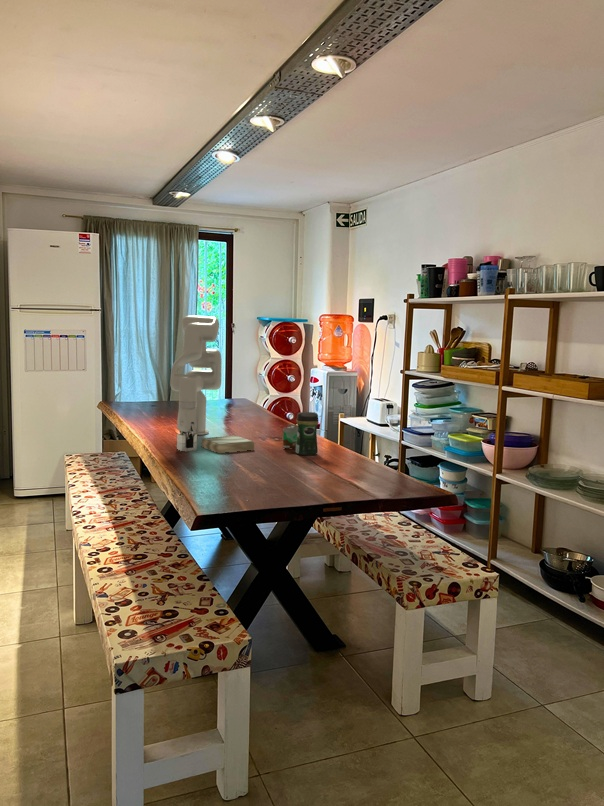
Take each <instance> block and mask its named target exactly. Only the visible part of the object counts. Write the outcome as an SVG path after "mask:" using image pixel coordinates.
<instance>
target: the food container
mask: <svg viewBox="0 0 604 806" xmlns="http://www.w3.org/2000/svg"><path fill="white" fill-rule="evenodd" d="M282 432H283V433H282V437H283V439H282V444H283V445H282V449H283V448H286V449H285V450H290V449H289V448H295V449H296V441H297V433H298V425H297V424H294V423H293V424H292V423H291V424H290V423H288V426H286V427H283V429H282ZM287 448H288V449H287Z"/></svg>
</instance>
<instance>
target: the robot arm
mask: <svg viewBox="0 0 604 806" xmlns="http://www.w3.org/2000/svg"><path fill="white" fill-rule="evenodd" d="M181 325H182V329H183V330H184V337H183V346H182V347H183V349H182V353H181V354H180V355H179V356H178V357H177V358H176V359H175V361H174V362H173V364H172V367H171V371H170V379H169V380H170V381H169V385H170V388H171V390H172V391H174V392H178V413H177V421H176V422H177V423H176V425H177V426H176V428H177V430H178V431H179V434H182V433H187V439H186V448H193V445H194V436H195V434H196V435H197V436H201V435H202V436H204V435H208V434H209V430H208V429H207V426H206V424H207V421H206V420H207V397H206V395H205V394H204V393H203V391H202V390H208V391H209V390H211V391H215V390H216V391H217V390H219V389H221V386H222V354H221V352H220V350H218V349H217V348H207V343H213V342H216V340H217V338H218V334H219V329H220V322H219V319H218V318H217V317H215V316H210V315H209V316H208V315H185V316H184V317H182V318H181ZM187 364H189V366H190V367H191V368H195V369H193V370H192V369H191V370H189V371H187V372H186V374H179V373H178V372H179V371H180V369H181V368H182V367H183V366H185V365H187ZM204 369H205V370H204ZM206 369H211V370H206ZM189 433H191V434H190V435H189Z"/></svg>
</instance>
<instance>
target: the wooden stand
mask: <svg viewBox="0 0 604 806" xmlns="http://www.w3.org/2000/svg"><path fill="white" fill-rule="evenodd" d="M203 447H204V449H206V450H208V449H209V451H211V452H213V451H214V452H213V453H216V452H217V453H216V454H226V453H225V452H229V453H237V451H240V452H248V451H247V450H251V451H254V450H255V441H253V440H250V439H247V438H245V437H241V436H238V435H227V436H214V437H211V436H210V437H203V438H201V448H203Z"/></svg>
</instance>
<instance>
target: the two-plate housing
mask: <svg viewBox="0 0 604 806" xmlns="http://www.w3.org/2000/svg"><path fill="white" fill-rule="evenodd" d="M190 434H191V433H189V435H190ZM176 436H177V437H176V438H177V439H176V450H177V449H178V450H177V451H179V450H180V451H179V452H181V451H185V452H193V451H192V450H198V449H197V448H198V446H197V445H198V444H197V443H198V435H196V434H195V436H194V445H193V448H186V439H187V433H182V434H180V433H177V434H176Z"/></svg>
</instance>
